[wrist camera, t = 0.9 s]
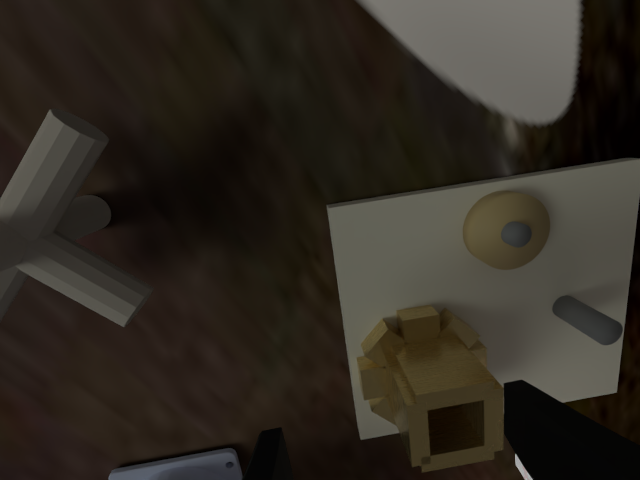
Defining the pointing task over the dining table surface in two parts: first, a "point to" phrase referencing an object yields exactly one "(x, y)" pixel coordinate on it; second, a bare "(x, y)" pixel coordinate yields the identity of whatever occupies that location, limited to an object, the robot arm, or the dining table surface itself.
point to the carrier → (499, 272)
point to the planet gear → (433, 387)
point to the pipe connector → (62, 223)
